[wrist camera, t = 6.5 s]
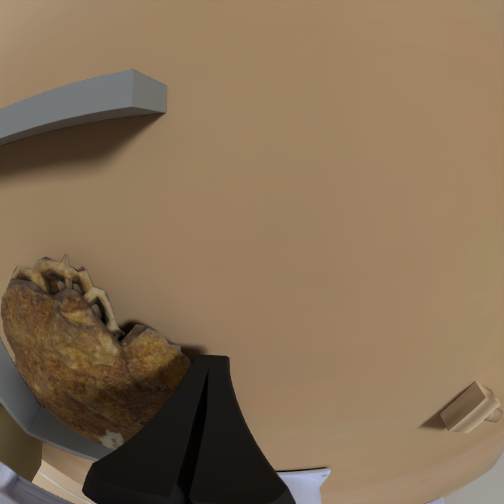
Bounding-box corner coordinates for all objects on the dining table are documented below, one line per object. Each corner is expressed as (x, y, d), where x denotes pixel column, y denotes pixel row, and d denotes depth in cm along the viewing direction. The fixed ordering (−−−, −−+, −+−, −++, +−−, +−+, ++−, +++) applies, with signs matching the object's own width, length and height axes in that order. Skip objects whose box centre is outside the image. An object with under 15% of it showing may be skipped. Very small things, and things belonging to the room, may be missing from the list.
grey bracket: (203, 450, 17) (199, 483, 14) (38, 410, 17) (26, 433, 14) (166, 85, 8) (133, 69, 5) (-54, 151, 8) (-87, 162, 5)
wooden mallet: (506, 398, 18) (514, 410, 16) (481, 422, 19) (487, 434, 17) (475, 380, 15) (485, 397, 13) (439, 413, 16) (448, 431, 15)
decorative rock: (-5, 278, 12) (122, 427, 18) (-43, 315, 8) (109, 467, 14) (115, 203, 10) (254, 420, 16) (50, 252, 6) (252, 476, 12)
